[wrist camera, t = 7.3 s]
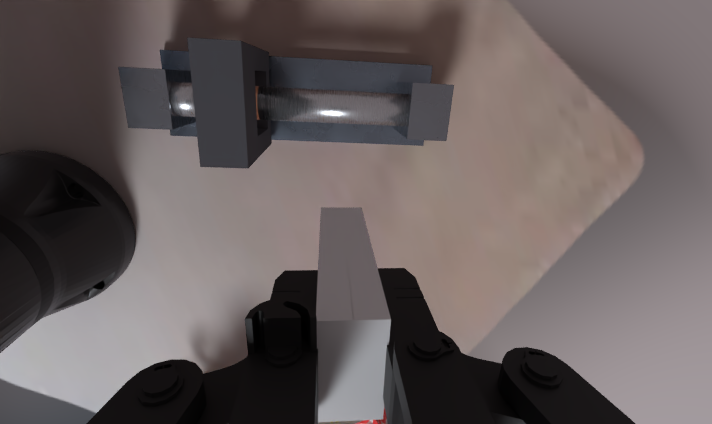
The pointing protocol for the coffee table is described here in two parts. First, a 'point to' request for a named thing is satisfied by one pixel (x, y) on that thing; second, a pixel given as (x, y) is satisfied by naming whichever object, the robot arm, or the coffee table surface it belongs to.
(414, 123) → the rail
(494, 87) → the coffee table surface
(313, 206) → the coffee table surface
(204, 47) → the dark gray notched block
